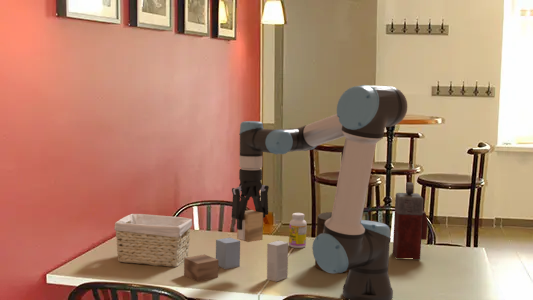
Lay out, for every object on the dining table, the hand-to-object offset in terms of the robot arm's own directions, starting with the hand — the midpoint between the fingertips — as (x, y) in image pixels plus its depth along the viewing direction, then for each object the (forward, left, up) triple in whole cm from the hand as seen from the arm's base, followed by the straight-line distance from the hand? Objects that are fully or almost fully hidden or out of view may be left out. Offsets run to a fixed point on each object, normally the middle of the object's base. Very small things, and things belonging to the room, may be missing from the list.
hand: (249, 237), depth 223 cm
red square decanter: (-15, -64, -13) cm, 67 cm away
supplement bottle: (+19, -38, -13) cm, 45 cm away
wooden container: (-10, -31, -13) cm, 35 cm away
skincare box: (-9, -5, -13) cm, 16 cm away
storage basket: (+32, +18, -13) cm, 39 cm away
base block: (+7, +14, -13) cm, 20 cm away
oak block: (0, 0, 0) cm, 0 cm away
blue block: (+12, 0, -12) cm, 18 cm away
